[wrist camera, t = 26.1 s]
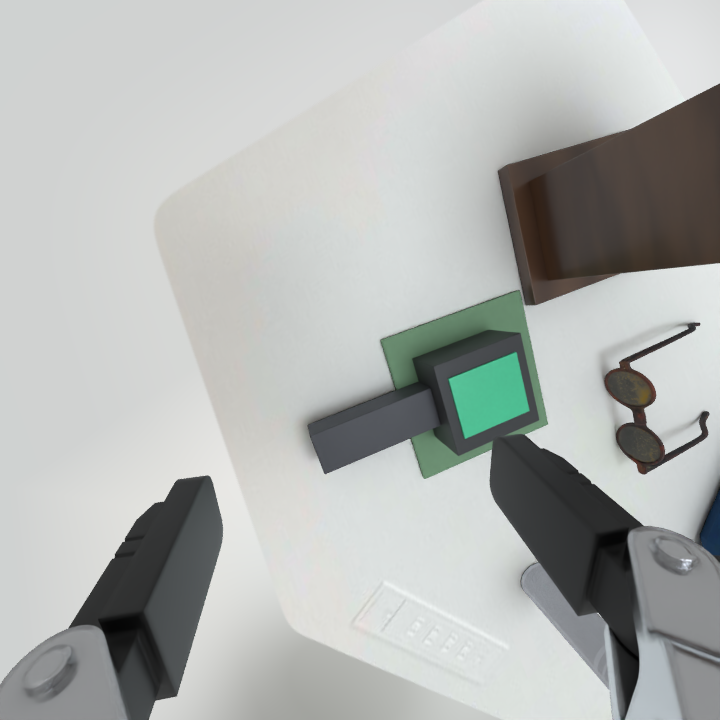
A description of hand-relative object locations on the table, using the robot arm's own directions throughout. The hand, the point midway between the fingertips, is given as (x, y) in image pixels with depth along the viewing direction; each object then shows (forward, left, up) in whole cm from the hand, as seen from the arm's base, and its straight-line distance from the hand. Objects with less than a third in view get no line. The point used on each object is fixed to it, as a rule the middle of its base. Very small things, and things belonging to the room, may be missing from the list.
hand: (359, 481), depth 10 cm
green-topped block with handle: (+11, +3, -23) cm, 26 cm away
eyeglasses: (+36, +25, -24) cm, 50 cm away
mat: (+15, +9, -24) cm, 30 cm away
